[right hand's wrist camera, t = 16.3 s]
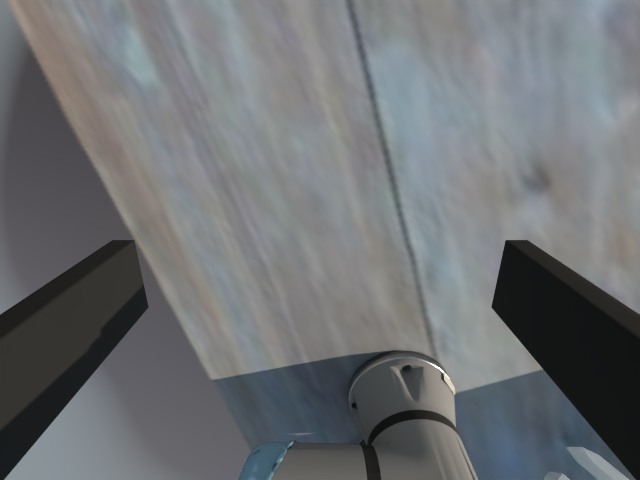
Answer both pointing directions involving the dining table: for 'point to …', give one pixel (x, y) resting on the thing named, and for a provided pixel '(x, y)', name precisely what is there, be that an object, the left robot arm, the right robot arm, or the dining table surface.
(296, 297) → the dining table surface
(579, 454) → the white plastic object
